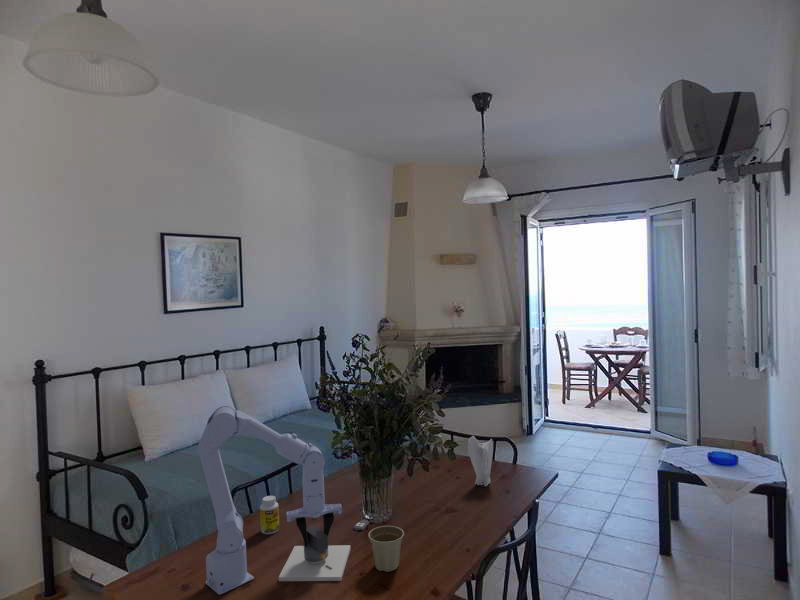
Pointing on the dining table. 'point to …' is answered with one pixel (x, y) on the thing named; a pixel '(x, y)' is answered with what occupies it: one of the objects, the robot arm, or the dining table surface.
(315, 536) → the dark grey blocky piece
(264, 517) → the supplement bottle
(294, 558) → the post base
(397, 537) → the flower pot
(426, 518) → the dining table surface
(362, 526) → the key chain
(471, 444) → the white vase
